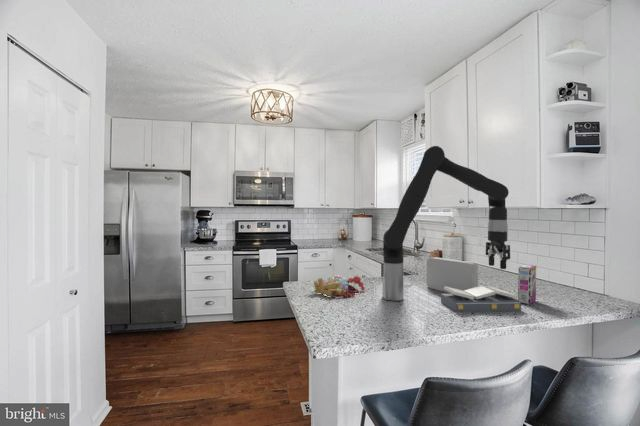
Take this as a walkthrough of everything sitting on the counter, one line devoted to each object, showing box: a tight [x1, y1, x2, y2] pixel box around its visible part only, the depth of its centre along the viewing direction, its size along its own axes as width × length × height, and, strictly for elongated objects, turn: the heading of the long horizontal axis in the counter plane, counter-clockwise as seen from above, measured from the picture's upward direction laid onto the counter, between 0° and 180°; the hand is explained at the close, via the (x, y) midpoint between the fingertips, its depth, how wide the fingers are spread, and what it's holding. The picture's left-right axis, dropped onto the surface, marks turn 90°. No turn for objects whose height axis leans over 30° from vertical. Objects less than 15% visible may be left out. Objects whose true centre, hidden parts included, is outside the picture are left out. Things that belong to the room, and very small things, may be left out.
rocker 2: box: [464, 285, 496, 299], centre depth 140 cm, size 8×11×1 cm
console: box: [440, 293, 522, 313], centre depth 140 cm, size 28×14×5 cm, turn 92°
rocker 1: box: [444, 286, 474, 299], centre depth 139 cm, size 8×11×1 cm
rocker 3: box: [484, 285, 518, 300], centre depth 140 cm, size 8×11×1 cm
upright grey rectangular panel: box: [426, 256, 479, 294], centre depth 166 cm, size 27×7×17 cm, turn 33°
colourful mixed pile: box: [313, 274, 366, 299], centre depth 164 cm, size 25×24×9 cm
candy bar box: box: [517, 264, 537, 306], centre depth 147 cm, size 11×5×16 cm, turn 134°
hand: (497, 267), depth 140 cm, fingers open, 8 cm apart
